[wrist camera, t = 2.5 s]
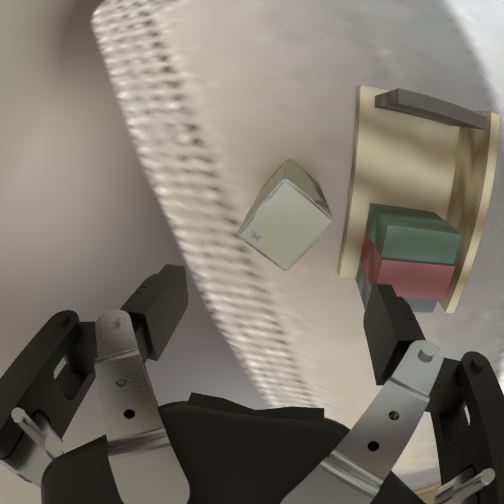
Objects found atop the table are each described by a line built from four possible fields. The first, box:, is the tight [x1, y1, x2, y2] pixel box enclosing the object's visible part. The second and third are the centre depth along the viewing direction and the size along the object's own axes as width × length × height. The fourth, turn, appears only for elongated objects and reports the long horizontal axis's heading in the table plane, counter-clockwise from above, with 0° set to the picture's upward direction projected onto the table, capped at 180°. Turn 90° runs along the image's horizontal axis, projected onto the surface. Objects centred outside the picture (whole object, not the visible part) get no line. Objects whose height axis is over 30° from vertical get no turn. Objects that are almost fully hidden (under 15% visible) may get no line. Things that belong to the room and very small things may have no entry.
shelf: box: [338, 85, 500, 313], centre depth 23 cm, size 21×13×8 cm, turn 179°
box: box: [237, 160, 334, 271], centre depth 24 cm, size 5×4×13 cm
